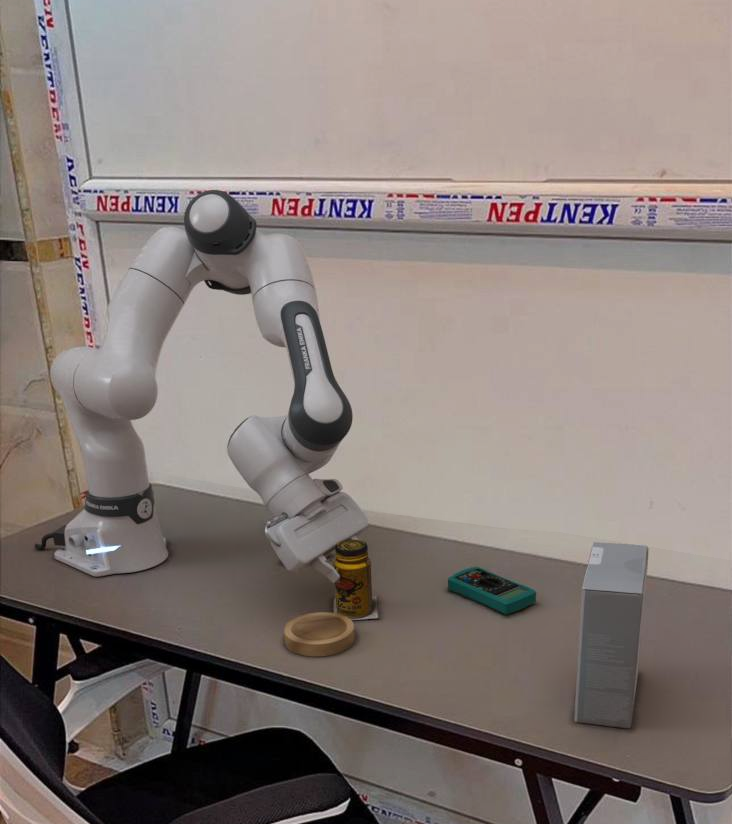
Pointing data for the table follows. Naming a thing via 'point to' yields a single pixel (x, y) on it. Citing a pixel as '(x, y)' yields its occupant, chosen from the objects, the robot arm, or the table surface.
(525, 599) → the digital multimeter
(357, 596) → the condiment
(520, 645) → the table surface
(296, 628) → the coaster
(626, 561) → the hard drive box
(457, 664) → the table surface
